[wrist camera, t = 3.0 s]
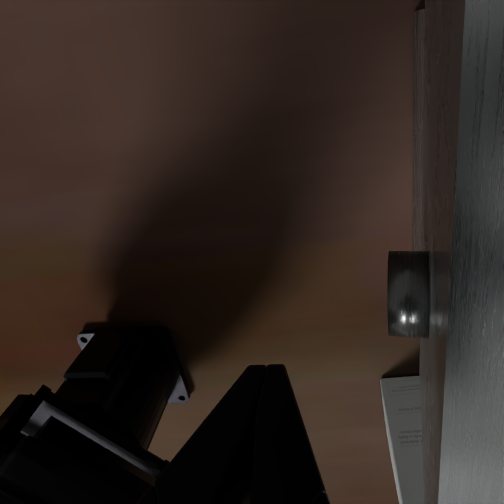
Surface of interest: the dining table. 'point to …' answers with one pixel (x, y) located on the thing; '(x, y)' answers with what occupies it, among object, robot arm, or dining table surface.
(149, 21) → the dining table surface
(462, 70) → the lid
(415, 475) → the supplement box
